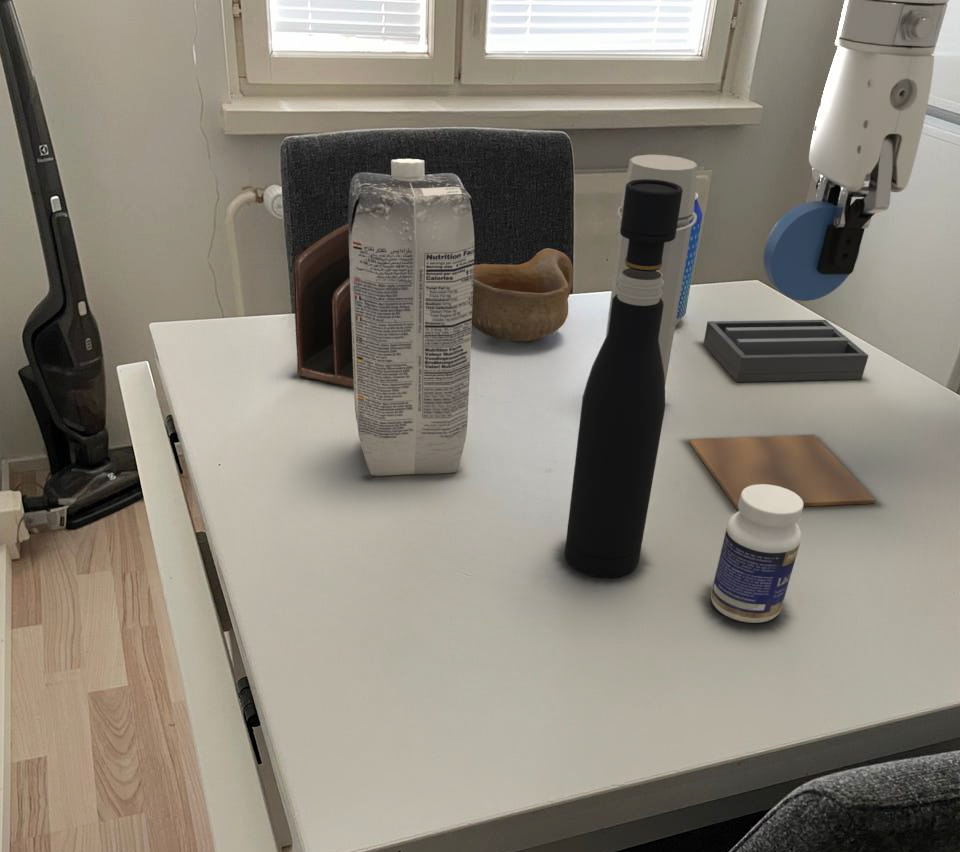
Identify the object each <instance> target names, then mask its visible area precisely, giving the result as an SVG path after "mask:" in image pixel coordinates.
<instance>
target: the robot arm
mask: <svg viewBox="0 0 960 852" xmlns="http://www.w3.org/2000/svg"><path fill="white" fill-rule="evenodd" d="M949 1H950V0H844V3H843V8H842V10H841V15H840V16H841V17H840V20H839V24H838V29H837V32H836V33H837V34H836V39H835V42H834V45H835V46H837V48H836V52H835V55H834V57H833V61H832V64H831V67H830V70H829V73H828V76H827V80H826V82H825V86H824V90H823V94H822V97H821V101H820V104H819V108H818V111H817V115H816V119H815V123H814V127H813V131H812V137H811V142H810V147H809V153H808V162H809V165H810V166H811V167H812V168H811V176H812V179H813V181H814V183H815V189H816V195H815V200H814V201H823V202H828V203H831V204H833V205H835V206H837V209H836V213H835V217H834V225H828V227H827V231H826V235H825V239H824V243H823V247H822V251H821V255H820V259H819V263H818V267H817V271H818V272H819V273H820V274H849V275H851V274H853V272H854V270H855V266H856V263H857V261H856V259H857V260H858V258H857V255H858V256H859V254H858V252H859V253H860V249H859V248H861V243H862V240H863V236H864V232H865V230H866V229H868V227H869V226H870V224H871V220H872V217H873V216H874V215H875V214H879V213H881V212H884V211H888V209H889V207H890V204H891V203H890V202H891V193H900V192H903V191H904V190H905V189H906V188H907V186H908V184H909V182H910V179H911V176H912V172H913V168H914V165H915V160H916V158H917V154H918V149H919V145H920V141H921V137H922V132H923V129H924V123H925V119H926V114H927V110H928V105H929V99H930V95H931V94H930V93H931V89H932V87H931V86H932V81H933V74H934V62H935V56H934V53H935V50H936V46H937V43H938V40H939V36H940V32H941V29H942V26H943V22H944V19H945V15H946V11H947V8H948V3H949ZM865 182H868V185H867V186H865V185H866V183H865ZM853 198H856V199H854V200H853V202H852V199H853Z"/></svg>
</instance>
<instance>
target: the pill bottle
mask: <svg viewBox="0 0 960 852" xmlns="http://www.w3.org/2000/svg"><path fill="white" fill-rule="evenodd" d="M737 510H738V511H737V512H736V513H734V514H733V515H732V516H731V517H730V518H729V519H728V522H727V525H726V527H725V532H724V537H723V539H722V545H721V549H720V554H719V558H718V561H717V566H716V570H715V574H714V579H713V583H712V586H711V591H710V599H711V603H712V605H713V606H714V608H715V609H716V610H718V611H719V613H721V614H722V615H724V616H725V617H727V618H729V619H733V620H735V621H738V622H743V623H749V624H750V623H751V624H759V623H765V622H768V621H771V620H773V619H774V618H776V617H777V616H778V615H779V614H780V612H781V610H782V607H783V604H784V601H785V596H786V595H787V594H786V593H787V591H788V587H789V583H790V580H791V576H792V573H793V569H794V565H795V563H796V559H797V556H798V552H799V549H800V545H801V541H802V532H801V529H800V527H799V525H798V524H797V523H799V521H800V520H801V517H802V514H803V511H804V506H803V501H802V499H801V498H800V497H799V496H798V495H797V494H796V493H794V492H792V491H790V490H788V489H785V488H782V487H779V486H774V485H767V484H759V485H751V486H748V487H746V488H745V489H744V490H743V491H742V493H741V496H740V499H739V503H738V509H737Z"/></svg>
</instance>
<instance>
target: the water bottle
mask: <svg viewBox="0 0 960 852" xmlns="http://www.w3.org/2000/svg"><path fill="white" fill-rule="evenodd" d="M626 172H627V173H626V175H625V182H624V186H623V190H622V195H621V200H620V206H619V207H618V209H617V213H616V214H617V217H618V218H619V229H618V236H617V244H616V254H615V262H614V269H613V276H612V284H611V285H612V286H611V294H610V301H609V309H608V316H607V324H606V332H605V333H606V334H605V337H606V336H607V334H608V329H609V321H610V313H611V305H612V298H613V297H614V296H615V295H616V294H618V292H617V289H616V288H617V287H618V286H619V282H618V277H619V276H620V275H621V271H622V270H623V269H625V268H629V267H627V266H626V264H625V258H626V257H627V249H628V242H629V239H627V238H625V237H623V236H622V235H621V234H620V228H621V220H622V212H623V204H624V196H625V188H626V184H627V183H628V182H630V181H633V180H640V179H652V180H662V181H667V182H672V183H675V184H677V185H679V186H680V187H682V190H683V192H682V199H681V205H680V211H679V217H678V224H677V230H676V236H675V239H674V240H672V241H670V242H665V243H664V249H663V256H662V267H661V268H660V269H658V270H657V271H659V272H661V273H662V274H663V281H664V285H663V286H662V287H661V290H662V292H663V294H662V296H661V297H660V298H661V299H662V300H663V303H664V307H663V313H662V320H661V326H660V332H659V346H660V352H661V357H662V363H663V369H664V377H665V385H666V383H667V377H668V371H669V365H670V358H671V352H672V348H673V347H672V346H673V341H674V335H675V330H676V326H675V324H676V318H677V312H678V306H679V300H680V294H681V288H682V282H683V276H684V270H685V264H686V258H687V252H688V246H689V240H690V234H691V228H692V226H693V225H694V224H695V223H696V220H697V215H696V214H695V212H694V204H695V192H696V189H697V175H698V164H697V163H696V162H695V161H693V160H691V159H687V158H684V157H681V156H674V155H668V154H642V155H635V156H633V157H631V158H630V159H629V163H628V167H627V171H626ZM693 218H694V219H693ZM692 219H693V221H692V223H689V221H691V220H692Z"/></svg>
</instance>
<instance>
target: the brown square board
mask: <svg viewBox="0 0 960 852" xmlns="http://www.w3.org/2000/svg"><path fill="white" fill-rule="evenodd" d="M688 442H689V444H690V446H691V447H692V448H693V450H694V452H695V453H696V454H697V455H698V457H699V459H700V460H701V461H702V462H703V464H704V465H705V467H706V468H707V470H708V471H709V473H710V474H711V475H712V477H713V478H714V479H715V481H716V482H717V484H718V485H719V486H720V488H721V489H722V491H723V493H724V494H725V495H726V496H727V498H728V499H729V500H730V502H731V503H732V505H733V506H734V508H735V509H736V510H739V509H738V503H739V499H740V496H741V493H742V491H743V490H744V489H745V488H746V487H748V486H751V485H759V484H767V485H774V486H779V487H782V488H785V489H788V490H790V491H792V492H794V493H796V494H797V495H798V496H799V497H800V498H801V499H802V501H803V507H824V506H849V505H867V504H868V505H869V504H870V505H871V504H875V502H876V499H875V498H874V497H873V496H872V495H871V494H870V492H868V490H867V489H866V488H865V487H864V486H863V484H861V483H860V482H859V481H858V479H856V478H855V477H854V475H853V474H851V472H850V471H849V470H848V469H847V468H846V467H845V466H844V465H843V464H842V463H841V462H840V461H839V460H838V458H836V457H835V455H833V453H832V452H831V451H830V450H829V449H828V448H827V447H826V446H825V445H824V444H823V442H822V441H820V440H819V438H818V437H817V436H816V435H815V434H804V435H802V434H801V435H800V434H799V435H773V436H772V435H771V436H769V435H768V436H740V437H708V438H689V439H688Z"/></svg>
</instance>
